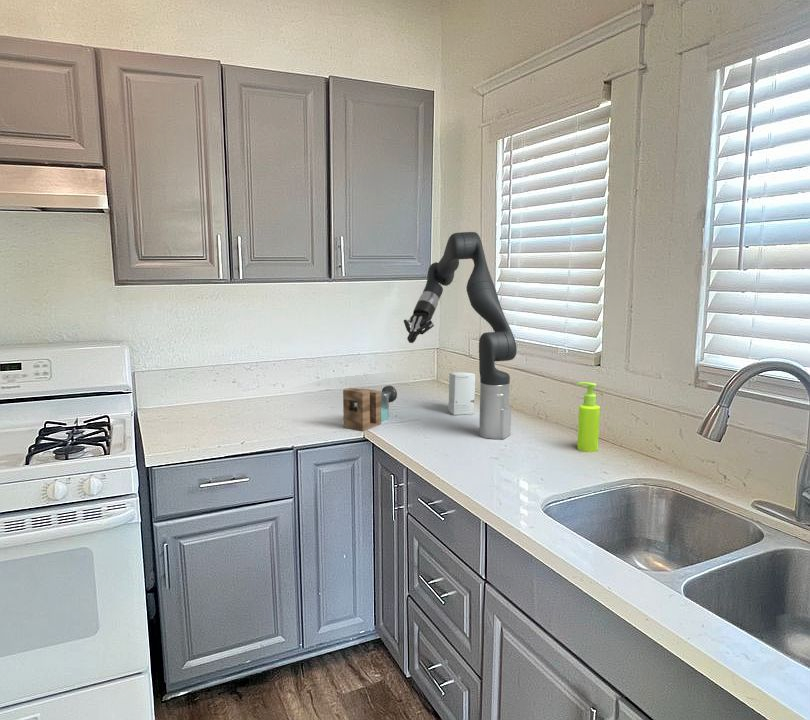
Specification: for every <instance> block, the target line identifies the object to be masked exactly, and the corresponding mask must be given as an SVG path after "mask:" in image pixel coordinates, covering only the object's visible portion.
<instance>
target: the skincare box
mask: <svg viewBox="0 0 810 720" xmlns="http://www.w3.org/2000/svg"><path fill="white" fill-rule="evenodd" d="M448 375H449V376H448V377H449V379H448V381H449V382H448V383H449V384H448V409H447V410H448V412H449V413H450V414H451V415H452V416H462V415H473V414H475V395H476V394H475V393H476V392H475V389H476V388H475V387H476V374H475V373H472V372H469V371H468V372H467V371H465V372H464V371H463V372H462V371H461V372H459V371H458V372H457V371H456V372H449V373H448Z"/></svg>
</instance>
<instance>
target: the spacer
mask: <svg viewBox="0 0 810 720" xmlns="http://www.w3.org/2000/svg"><path fill="white" fill-rule="evenodd" d="M385 420H386V421H388V420H389V417H388V409H385V408H381V423H383V422H385Z"/></svg>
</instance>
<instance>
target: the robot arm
mask: <svg viewBox="0 0 810 720" xmlns="http://www.w3.org/2000/svg"><path fill="white" fill-rule="evenodd" d="M469 259H470V260H472V261H473V265H474V266H473V269H472V271H471V274H470V275H469V278H468V280H467V283H466V293H467V297H468V300H469V302H470V305H471V307H472V308H473V310H474V312H476V313H477V314H478V315H479V316H480V317H481V318H482V319H484V320H485V321H486V322H487V323H488V324H489V325H490V327H491V328H492V329H493V331H488V332H483V333H482V334H481V335H480V336H479V337H480V338H479V342H478V358H479V359H478V363H479V364H478V365H479V366H478V367H479V368H478V369H479V378H480V379H479V381H480V383H479V417H478V418H479V419H478V420H479V423H478V424H479V427H478V434H479V436H480V437H482V438H486V439H493V440H504V439H506V438H507V437H509V436H511V433H512V432H511V426H512V406H511V405H510V386H511V385H510V384H511V383H510V382H511V376H510V373H508V372H505V371H502V370H499V369H497V368H496V365H495V362H506V361H512V360H514V359H515V357H516V356H517V349H518V348H517V343H516V338H515V336H514V333H513V331H512V328H511V327H510V324H509V322H508V320H507V318H506V316H505V313H504V311H503V308H502V305H501V302H500V300H499V296H498V292H497V290H496V287H495V284H494V282H493V278H492V275H491V273H490V270H489V267H488V264H487V259H486V255H485V251H484V247H483V243H482V240H481V237H480V235H479V233H477V232H476V231H463V232H461V231H460V232H454V233H452V234H451V235H450V236H449V237H448V240H447V243H446V245H445V248H444V251H443V255H442V257H441V259H439V261H438V262H435V261H434V262H433V263H431V264H430V266H429V267H428V270H427V276H426V283H425V286H424V288H423V290H422V293H421V295H420V296H419V298H418V300H417V302H416V305H415V307H414V309H413V312H412V315H411V316H410V318H409V319H404V320H403V323H404V326H405V330H406V331H407V332H408V336H407V339H406V340H407V342H408V343H409V344H413V343H414V342H416V340H417V339H418V336H419V335H424V334H425V333H428V331H429V330H431V329H432V328H434V326H435V325H434V322H433V321H432V319H433V316H434V314H435V312H436V309H437V307H438V305H439V301H440V299H441V296H442V293H443V291H444V288H443V286H445V287H447V286H450V285H451V284H452V282H453V280H454V277H455V272H456V271H457V269H458V268H459V265H460V260H469Z"/></svg>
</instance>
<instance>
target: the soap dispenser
mask: <svg viewBox="0 0 810 720" xmlns="http://www.w3.org/2000/svg"><path fill="white" fill-rule="evenodd" d="M576 385H577V386H587V389H586V390H587V392H586V393H584V394H583V395H584V396H583V404H579V406H578V423H577V424H578V425H577V427H578V428H577V446H576V448H577V450H578V451H579V452H580V451H581V452H586V453H594V452H595V453H596V452H597V451H598V450H599V438H600V437H599V436H600V419H601V418H600V417H601V416H600V415H601V406H600V405H598V404H597V394H595V393H594V388H595V387H597V385H598V384H597V383H594V382H589V381H582V382H581V381H580V382H577V383H576Z"/></svg>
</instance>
